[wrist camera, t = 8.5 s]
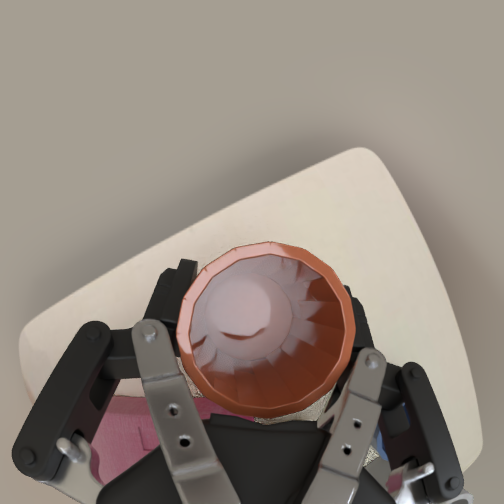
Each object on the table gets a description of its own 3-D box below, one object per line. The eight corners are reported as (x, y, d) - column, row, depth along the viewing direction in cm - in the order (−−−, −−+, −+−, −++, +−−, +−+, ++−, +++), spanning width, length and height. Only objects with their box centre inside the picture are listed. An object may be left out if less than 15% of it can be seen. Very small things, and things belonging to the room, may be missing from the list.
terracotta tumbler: (209, 372, 17) (200, 432, 9) (189, 276, 18) (161, 260, 9) (304, 352, 18) (364, 390, 9) (286, 258, 18) (336, 229, 10)
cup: (426, 447, 24) (486, 484, 13) (397, 501, 23) (442, 546, 11) (369, 450, 24) (428, 504, 12) (339, 507, 23) (378, 568, 11)
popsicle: (305, 386, 25) (97, 393, 23) (321, 403, 20) (76, 409, 18) (307, 463, 23) (116, 468, 22) (320, 487, 19) (102, 491, 17)
